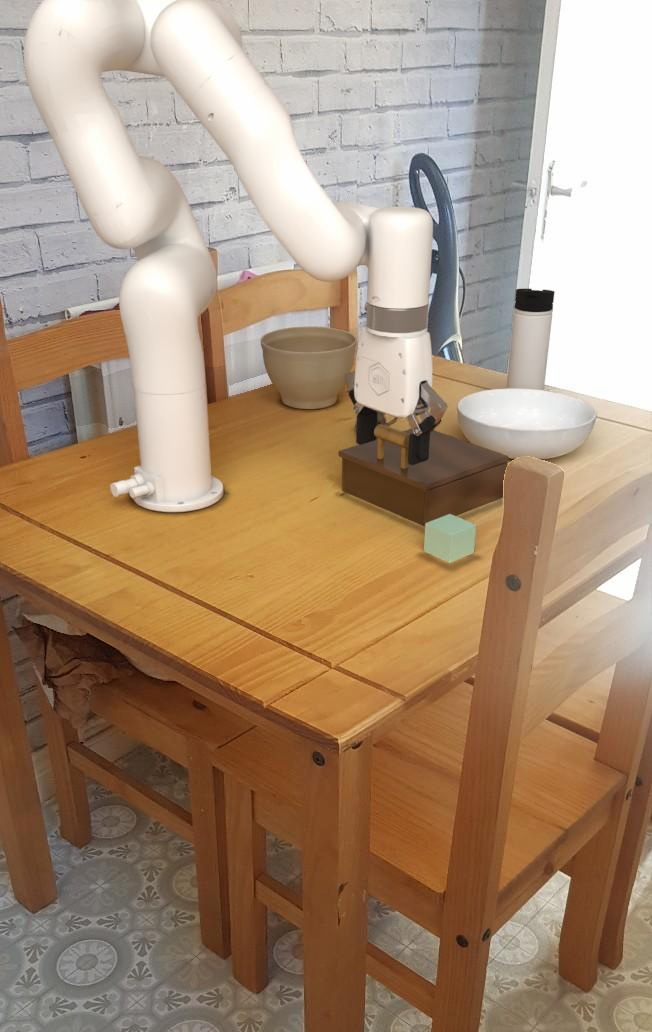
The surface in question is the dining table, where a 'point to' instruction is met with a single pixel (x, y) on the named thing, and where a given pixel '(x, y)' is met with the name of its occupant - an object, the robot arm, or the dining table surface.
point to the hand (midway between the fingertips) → (391, 452)
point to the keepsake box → (423, 492)
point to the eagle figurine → (382, 420)
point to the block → (449, 538)
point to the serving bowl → (525, 421)
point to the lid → (442, 466)
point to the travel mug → (530, 339)
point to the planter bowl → (308, 364)
